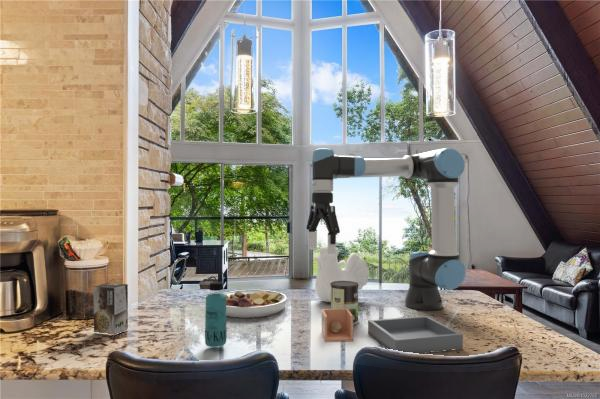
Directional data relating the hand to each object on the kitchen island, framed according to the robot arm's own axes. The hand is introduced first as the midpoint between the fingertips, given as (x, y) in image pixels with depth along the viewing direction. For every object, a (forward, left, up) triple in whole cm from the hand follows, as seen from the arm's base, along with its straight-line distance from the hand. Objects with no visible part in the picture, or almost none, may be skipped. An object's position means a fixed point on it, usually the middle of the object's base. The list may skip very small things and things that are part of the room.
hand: (321, 251), depth 146 cm
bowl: (+23, -27, -27) cm, 44 cm away
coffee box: (+72, -8, -27) cm, 77 cm away
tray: (-23, +23, -26) cm, 42 cm away
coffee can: (-9, -2, -27) cm, 28 cm away
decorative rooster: (-18, -29, -27) cm, 44 cm away
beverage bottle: (+38, +15, -27) cm, 48 cm away
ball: (-2, +11, -24) cm, 26 cm away
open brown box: (-1, +13, -27) cm, 29 cm away
